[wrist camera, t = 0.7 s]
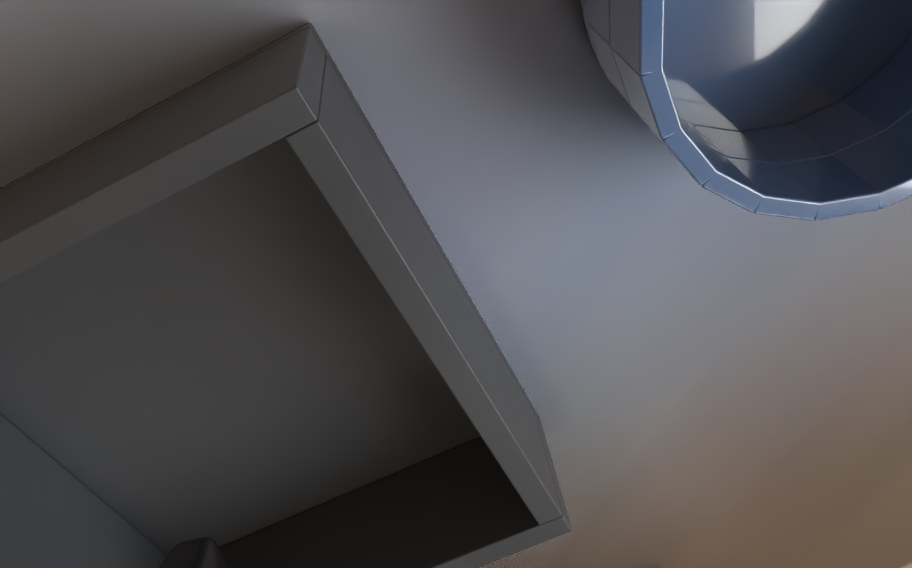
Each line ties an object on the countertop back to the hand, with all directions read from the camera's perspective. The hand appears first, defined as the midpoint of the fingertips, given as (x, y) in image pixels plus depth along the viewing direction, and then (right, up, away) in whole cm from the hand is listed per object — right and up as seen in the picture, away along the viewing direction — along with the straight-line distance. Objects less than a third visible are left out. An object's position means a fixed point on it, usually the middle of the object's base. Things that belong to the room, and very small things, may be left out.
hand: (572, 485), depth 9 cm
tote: (-9, 0, +15) cm, 17 cm away
